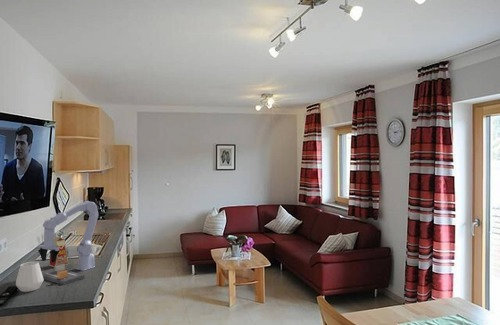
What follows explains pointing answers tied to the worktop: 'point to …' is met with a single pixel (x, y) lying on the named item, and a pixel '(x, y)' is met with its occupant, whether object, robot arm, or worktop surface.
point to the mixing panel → (71, 278)
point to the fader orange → (62, 274)
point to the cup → (29, 277)
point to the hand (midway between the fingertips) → (48, 261)
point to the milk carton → (60, 252)
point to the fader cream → (59, 267)
